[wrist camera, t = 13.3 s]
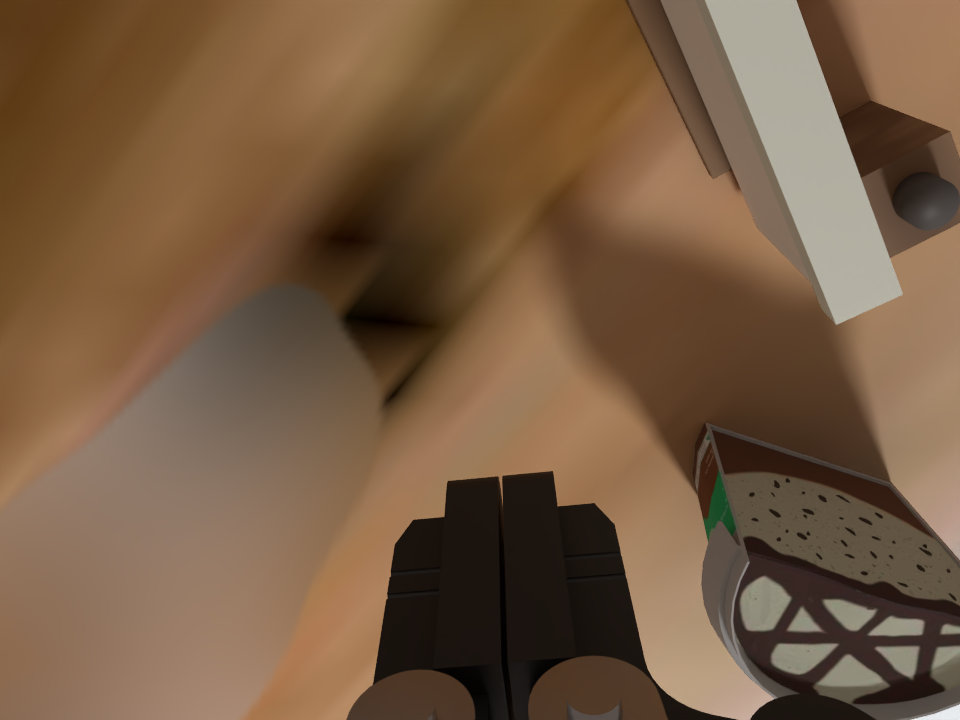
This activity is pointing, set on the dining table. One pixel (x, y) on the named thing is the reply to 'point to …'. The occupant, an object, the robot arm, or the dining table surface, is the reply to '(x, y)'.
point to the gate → (787, 145)
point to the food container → (826, 580)
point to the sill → (680, 82)
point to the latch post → (905, 173)
